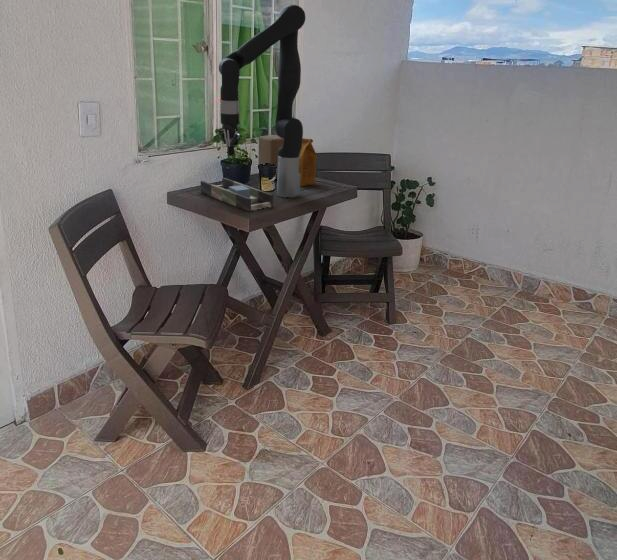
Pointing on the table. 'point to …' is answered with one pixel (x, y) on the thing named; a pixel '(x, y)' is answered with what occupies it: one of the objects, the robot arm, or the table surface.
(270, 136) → the block
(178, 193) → the table surface
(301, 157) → the coffee package
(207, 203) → the table surface
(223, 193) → the trap lane
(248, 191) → the slate block
